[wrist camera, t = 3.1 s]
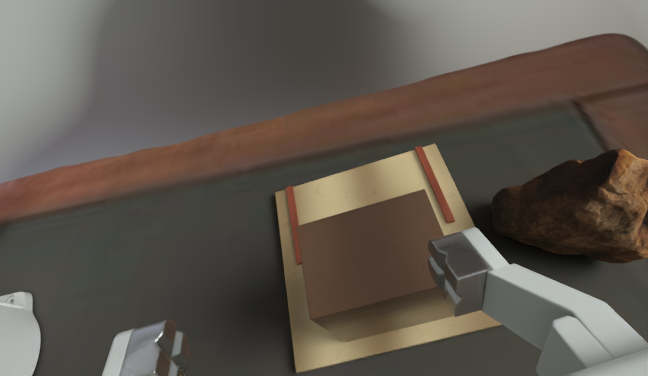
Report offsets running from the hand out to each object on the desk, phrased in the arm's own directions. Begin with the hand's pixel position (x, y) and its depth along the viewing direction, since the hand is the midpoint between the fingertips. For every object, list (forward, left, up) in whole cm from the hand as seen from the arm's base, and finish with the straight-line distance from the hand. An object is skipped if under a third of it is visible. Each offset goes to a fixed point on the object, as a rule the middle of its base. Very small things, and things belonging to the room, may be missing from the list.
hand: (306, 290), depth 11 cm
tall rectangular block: (0, +6, -23) cm, 24 cm away
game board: (-1, +11, -24) cm, 26 cm away
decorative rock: (+16, +12, -24) cm, 31 cm away
